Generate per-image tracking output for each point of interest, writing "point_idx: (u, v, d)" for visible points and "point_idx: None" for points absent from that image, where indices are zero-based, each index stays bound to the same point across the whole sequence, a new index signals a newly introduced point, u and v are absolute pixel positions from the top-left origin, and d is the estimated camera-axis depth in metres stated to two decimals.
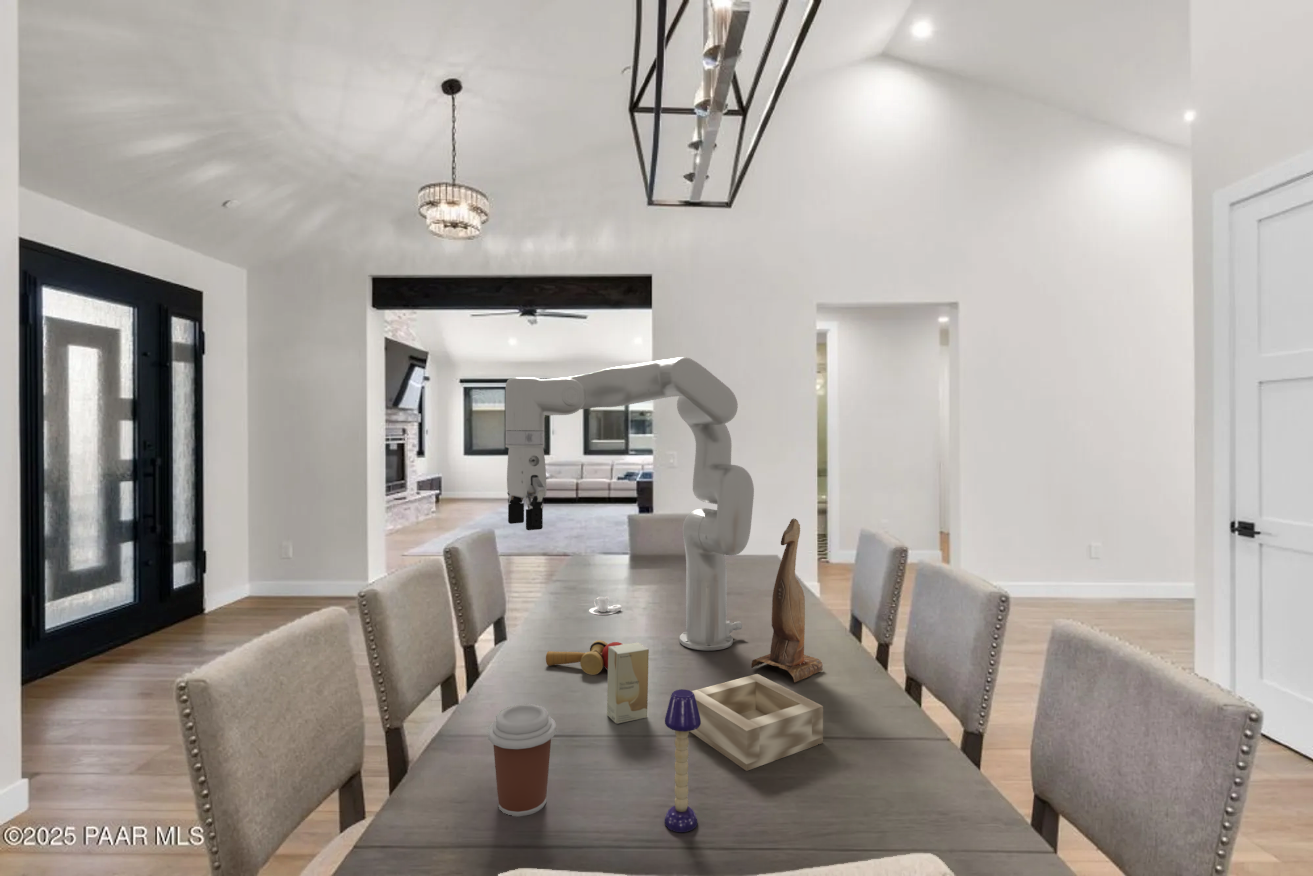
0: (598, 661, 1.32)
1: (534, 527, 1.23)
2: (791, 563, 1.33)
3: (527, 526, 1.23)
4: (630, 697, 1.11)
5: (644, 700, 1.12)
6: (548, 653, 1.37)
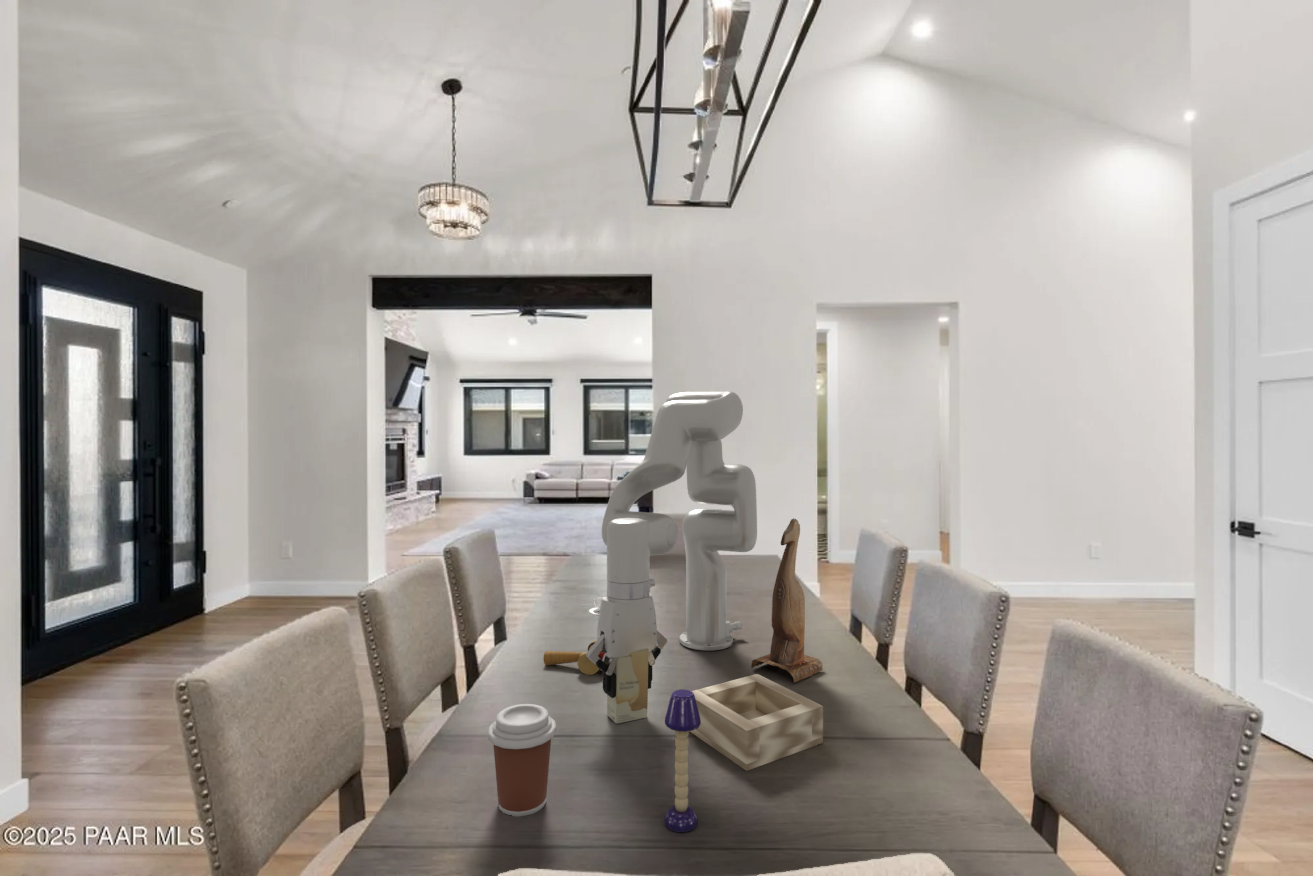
0: None
1: None
2: (791, 563, 1.33)
3: None
4: (630, 697, 1.11)
5: (644, 700, 1.12)
6: (546, 653, 1.37)
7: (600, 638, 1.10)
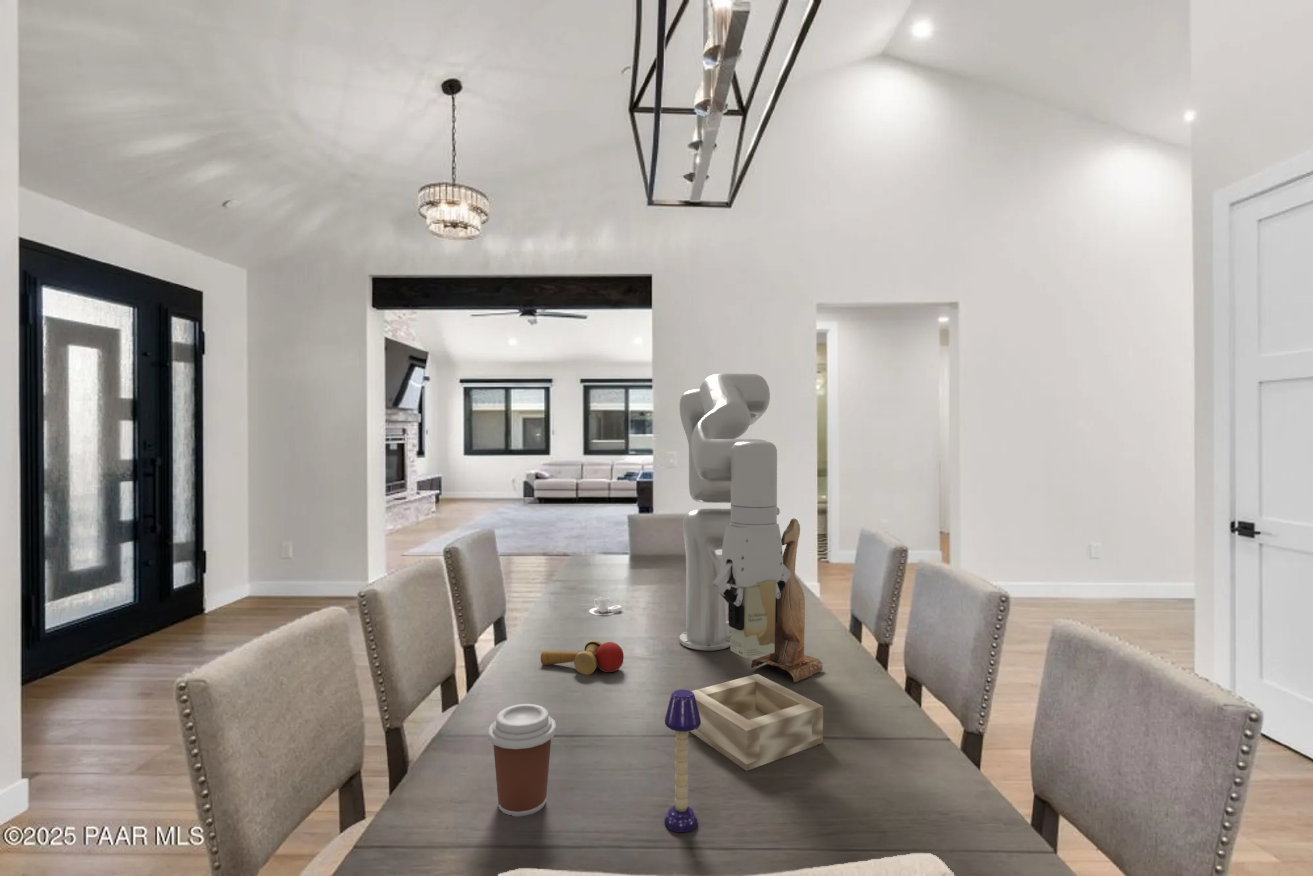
0: (592, 661, 1.32)
1: None
2: (791, 563, 1.33)
3: None
4: (759, 630, 1.04)
5: (771, 634, 1.05)
6: (543, 652, 1.37)
7: (727, 566, 1.03)
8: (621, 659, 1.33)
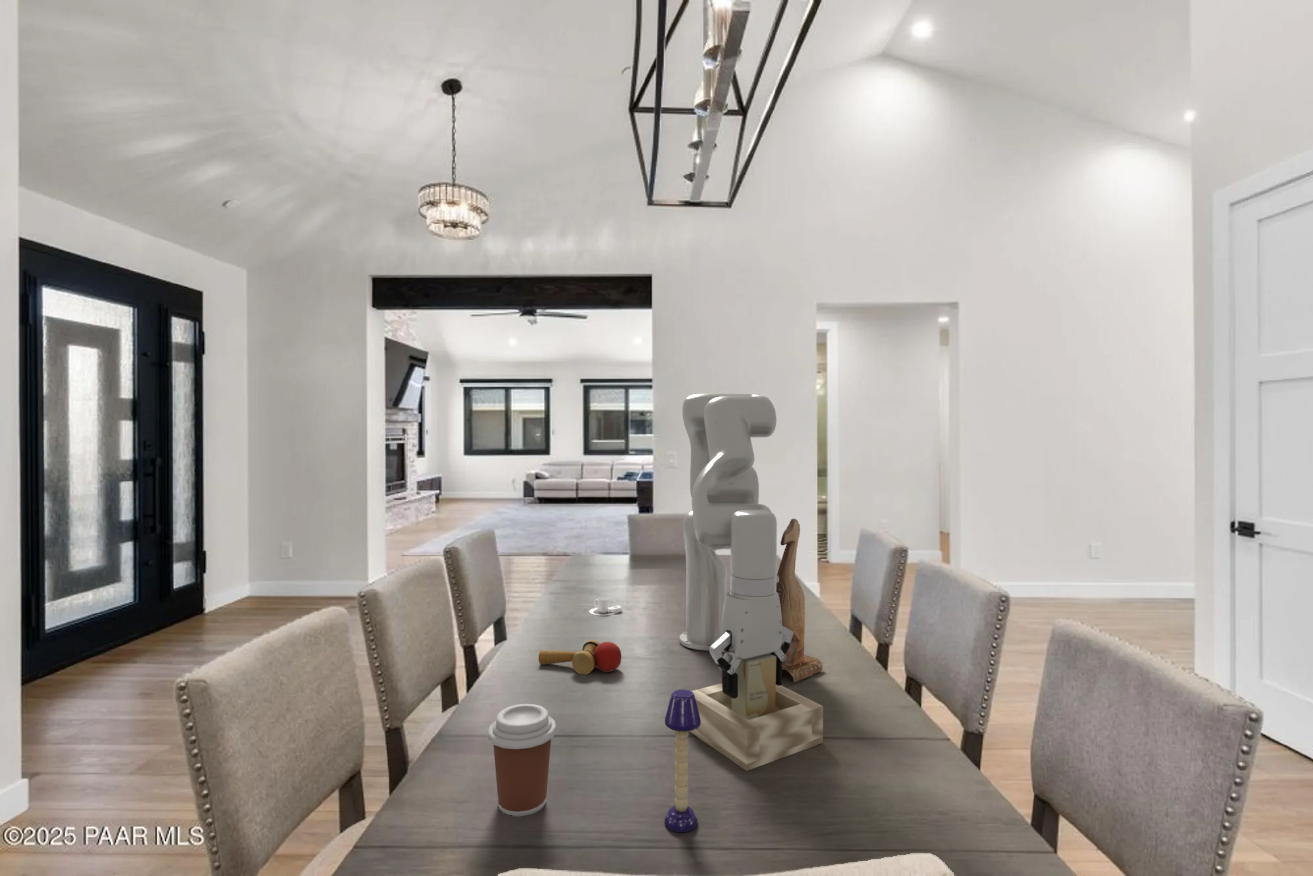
0: (589, 661, 1.32)
1: None
2: (791, 563, 1.33)
3: None
4: (760, 708, 1.05)
5: (772, 711, 1.06)
6: (541, 652, 1.38)
7: (726, 635, 1.03)
8: (619, 659, 1.33)
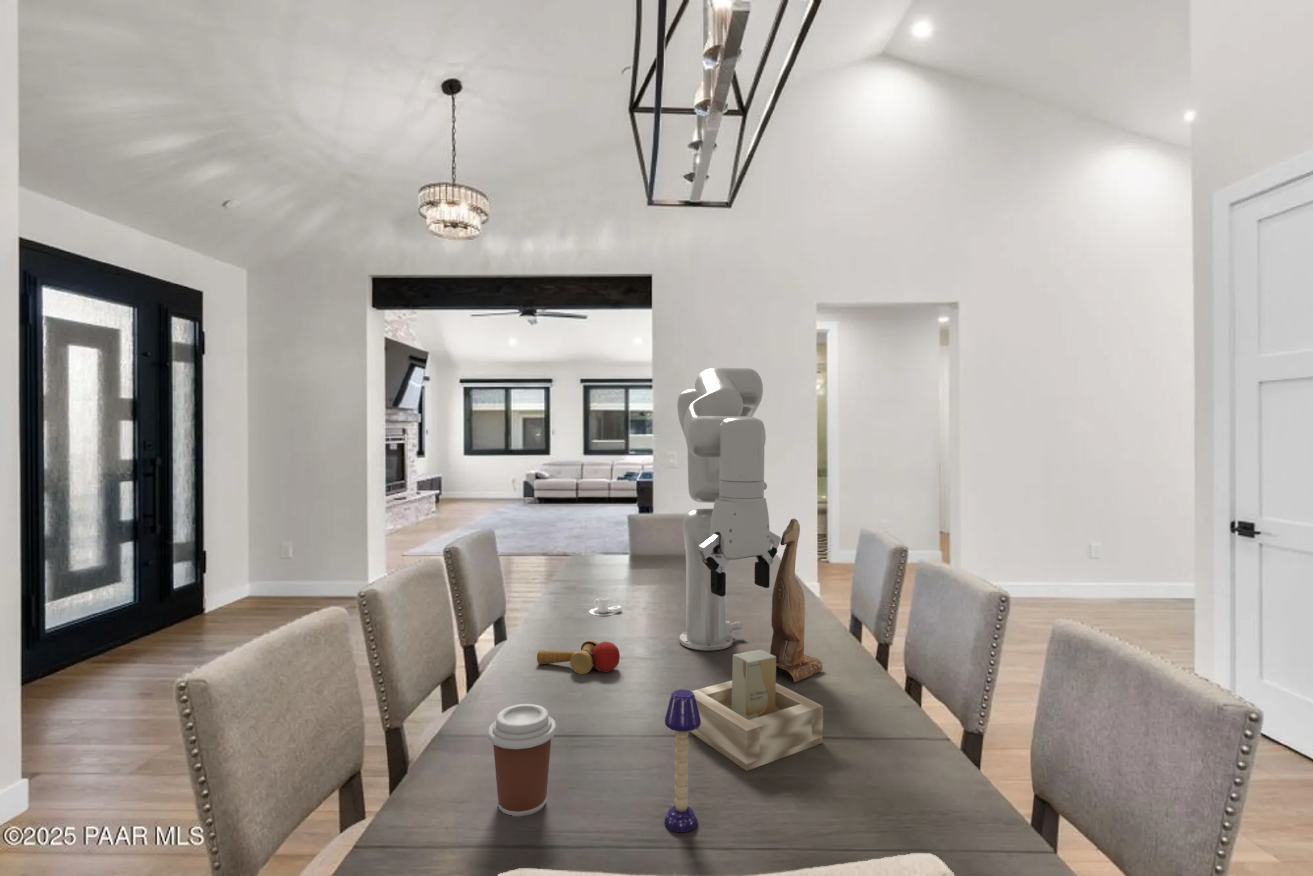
0: (588, 660, 1.32)
1: None
2: (791, 563, 1.33)
3: None
4: (760, 708, 1.05)
5: (772, 711, 1.06)
6: (539, 652, 1.38)
7: (714, 536, 1.06)
8: (617, 659, 1.33)
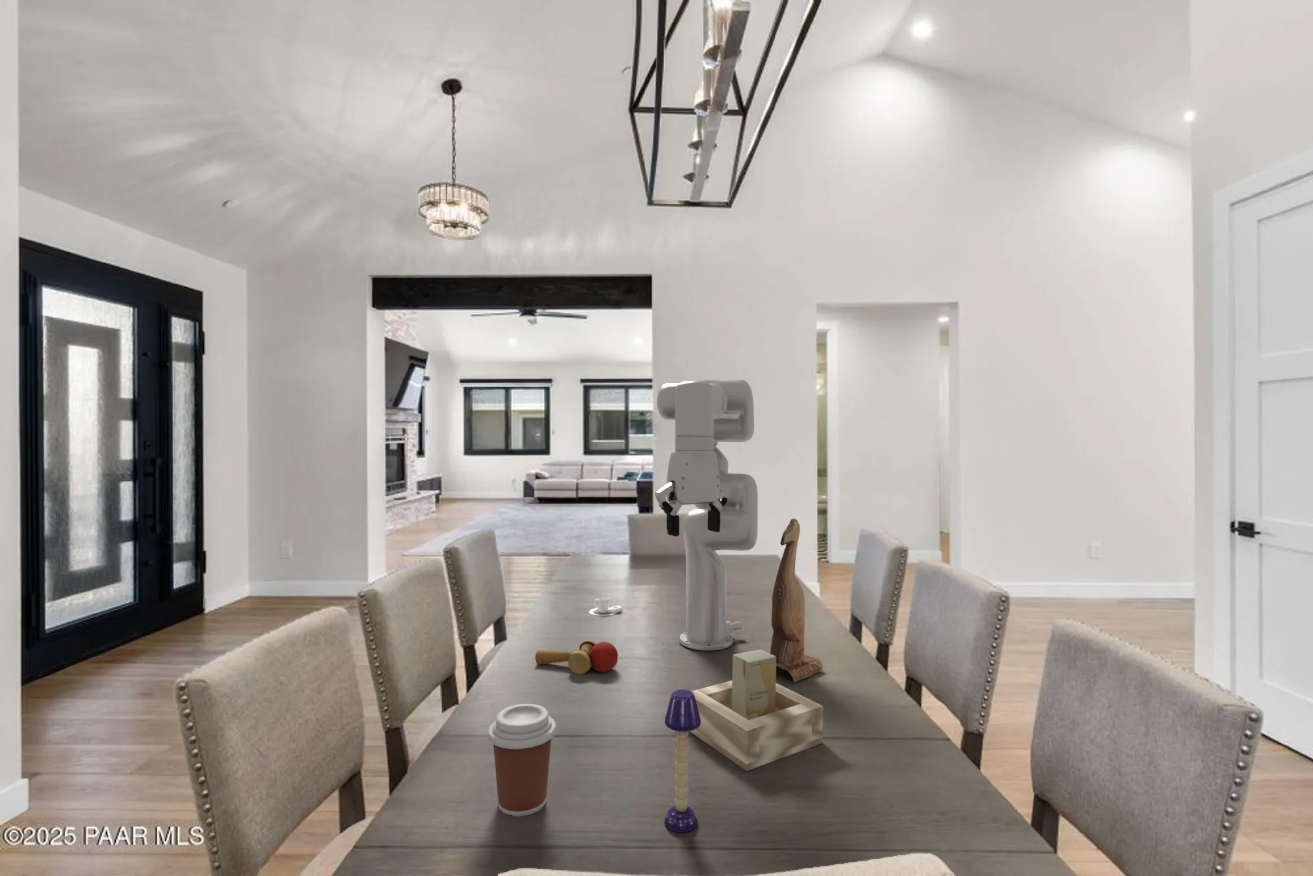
0: (586, 660, 1.32)
1: None
2: (791, 563, 1.33)
3: None
4: (760, 708, 1.05)
5: (772, 711, 1.06)
6: (538, 652, 1.38)
7: (670, 483, 1.22)
8: (615, 659, 1.33)
